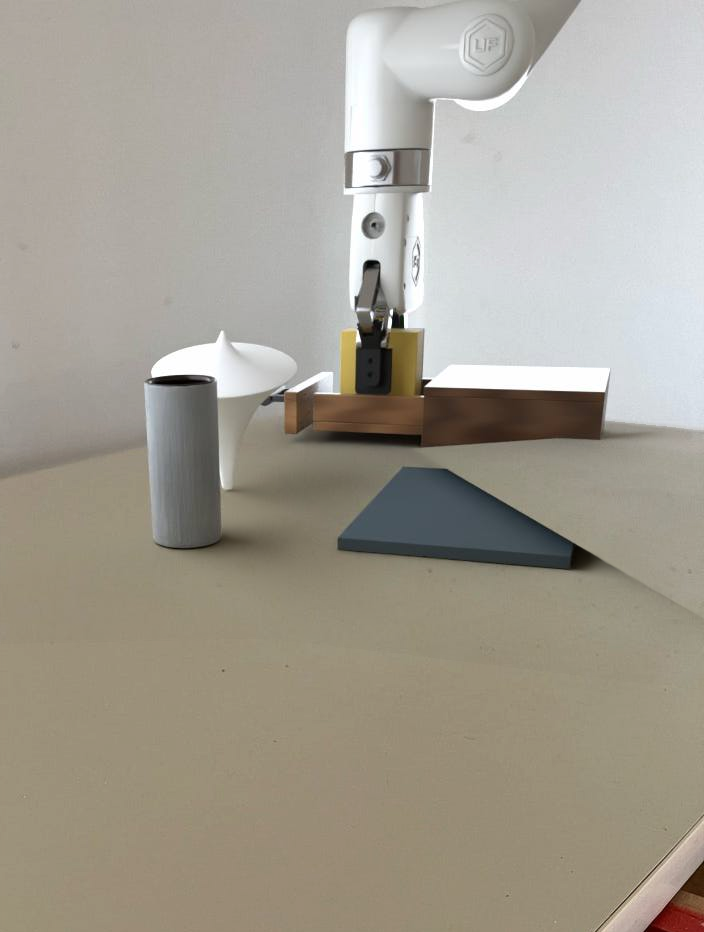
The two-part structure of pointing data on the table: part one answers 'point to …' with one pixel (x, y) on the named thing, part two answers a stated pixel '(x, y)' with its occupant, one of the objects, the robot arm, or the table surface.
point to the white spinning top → (232, 386)
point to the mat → (451, 524)
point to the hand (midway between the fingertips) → (381, 386)
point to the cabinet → (513, 404)
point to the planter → (183, 459)
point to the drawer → (347, 409)
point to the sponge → (403, 361)
